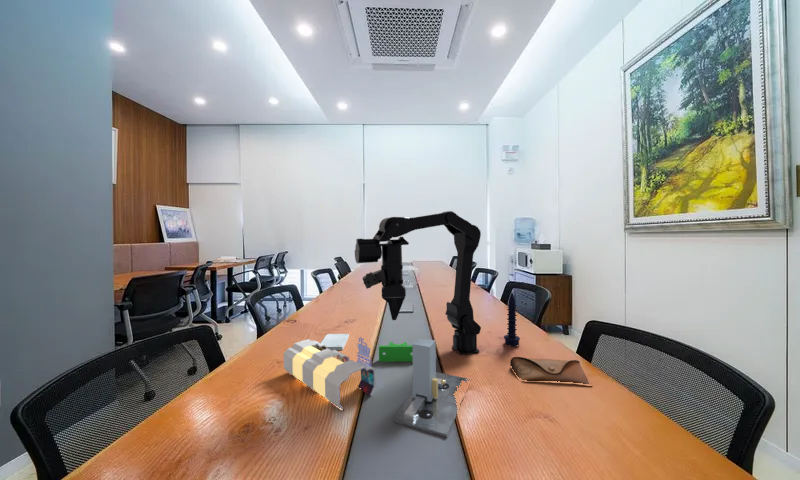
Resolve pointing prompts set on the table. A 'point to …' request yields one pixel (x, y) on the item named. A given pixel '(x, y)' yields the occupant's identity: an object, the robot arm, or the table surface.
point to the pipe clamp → (396, 353)
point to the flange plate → (432, 408)
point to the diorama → (328, 368)
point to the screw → (512, 323)
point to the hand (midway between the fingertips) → (393, 315)
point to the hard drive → (335, 341)
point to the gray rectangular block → (424, 369)
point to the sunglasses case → (548, 370)
